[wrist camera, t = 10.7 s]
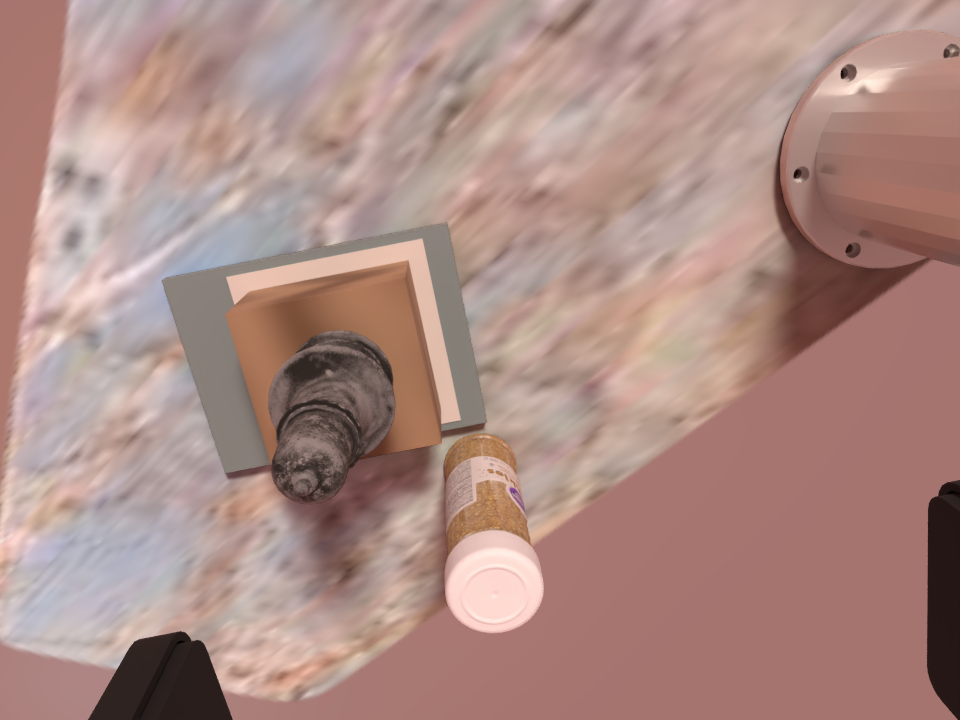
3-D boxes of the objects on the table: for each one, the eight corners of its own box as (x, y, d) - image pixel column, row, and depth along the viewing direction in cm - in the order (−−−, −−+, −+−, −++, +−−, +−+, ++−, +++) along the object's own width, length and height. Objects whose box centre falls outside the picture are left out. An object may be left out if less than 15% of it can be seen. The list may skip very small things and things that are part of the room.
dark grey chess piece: (366, 451, 39) (338, 587, 28) (263, 401, 38) (190, 523, 27) (419, 358, 38) (412, 462, 27) (313, 303, 37) (259, 387, 25)
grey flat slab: (447, 222, 42) (447, 224, 41) (486, 417, 46) (487, 422, 45) (166, 277, 42) (161, 280, 41) (228, 467, 46) (224, 474, 45)
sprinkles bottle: (530, 461, 47) (566, 591, 34) (480, 509, 48) (497, 654, 35) (476, 415, 45) (492, 533, 33) (426, 466, 46) (423, 600, 34)
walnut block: (408, 260, 41) (404, 278, 37) (440, 408, 44) (441, 443, 39) (249, 291, 41) (224, 314, 37) (291, 437, 44) (274, 475, 40)
